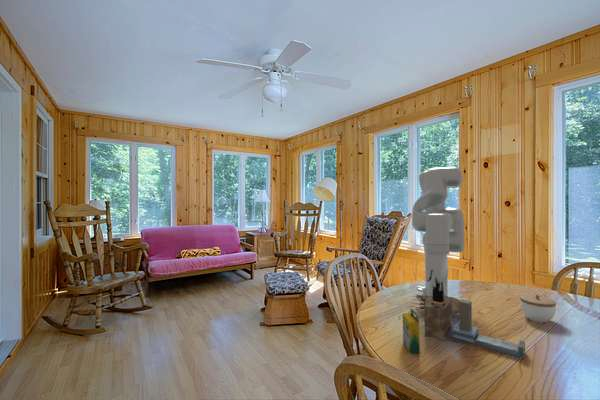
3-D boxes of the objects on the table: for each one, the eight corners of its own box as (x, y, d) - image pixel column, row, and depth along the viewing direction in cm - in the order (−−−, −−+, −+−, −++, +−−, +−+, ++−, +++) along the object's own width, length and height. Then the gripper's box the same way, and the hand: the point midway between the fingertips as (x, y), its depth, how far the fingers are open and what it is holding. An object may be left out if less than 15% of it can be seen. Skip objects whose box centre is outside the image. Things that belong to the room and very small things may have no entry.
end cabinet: (424, 334, 102) (424, 306, 102) (434, 325, 109) (434, 298, 109) (443, 340, 98) (442, 310, 98) (452, 330, 105) (451, 302, 105)
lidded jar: (563, 326, 107) (563, 300, 107) (529, 324, 109) (529, 298, 109) (545, 314, 117) (544, 291, 117) (514, 313, 119) (514, 290, 119)
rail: (445, 337, 99) (445, 327, 99) (449, 332, 103) (449, 322, 103) (523, 359, 85) (523, 348, 85) (525, 352, 89) (525, 341, 89)
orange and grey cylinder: (432, 321, 103) (431, 301, 103) (435, 318, 106) (434, 298, 106) (441, 323, 101) (441, 303, 101) (444, 320, 103) (444, 300, 103)
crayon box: (402, 342, 96) (402, 307, 96) (411, 342, 96) (411, 307, 96) (410, 354, 89) (409, 316, 89) (420, 354, 89) (419, 316, 89)
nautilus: (403, 314, 122) (415, 305, 133) (461, 324, 108) (469, 313, 119) (402, 294, 122) (414, 287, 134) (459, 302, 108) (467, 294, 120)
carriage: (452, 336, 97) (452, 302, 97) (458, 329, 102) (458, 296, 102) (473, 342, 93) (472, 306, 93) (478, 334, 98) (477, 300, 98)
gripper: (433, 245, 111) (434, 293, 111) (418, 250, 100) (419, 304, 100) (455, 247, 106) (455, 298, 106) (442, 252, 95) (442, 309, 95)
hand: (438, 301), depth 103 cm, fingers closed
